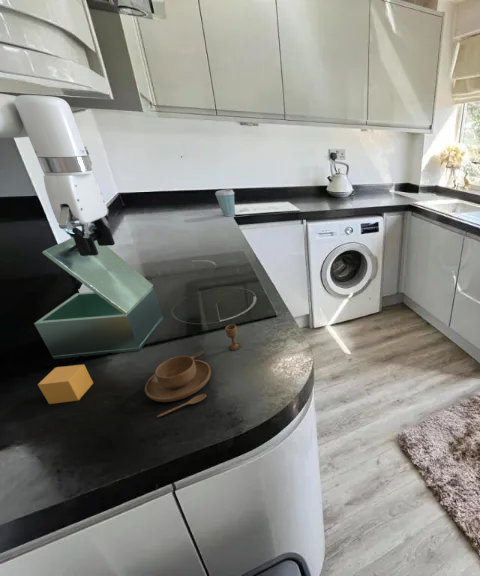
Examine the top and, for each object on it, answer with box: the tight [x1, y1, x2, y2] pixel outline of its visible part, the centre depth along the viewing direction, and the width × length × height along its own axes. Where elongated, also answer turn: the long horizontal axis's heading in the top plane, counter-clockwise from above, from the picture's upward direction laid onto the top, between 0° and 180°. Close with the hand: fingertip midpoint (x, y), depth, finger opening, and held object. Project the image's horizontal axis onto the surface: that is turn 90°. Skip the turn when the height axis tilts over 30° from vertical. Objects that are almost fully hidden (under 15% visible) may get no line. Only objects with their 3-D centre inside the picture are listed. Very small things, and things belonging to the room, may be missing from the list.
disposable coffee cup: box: [214, 188, 236, 217], centre depth 197 cm, size 11×11×15 cm
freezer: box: [33, 287, 164, 360], centre depth 81 cm, size 18×15×10 cm
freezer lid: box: [41, 230, 154, 315], centre depth 76 cm, size 19×15×5 cm
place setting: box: [144, 323, 242, 418], centre depth 69 cm, size 18×20×6 cm
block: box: [37, 364, 94, 405], centre depth 64 cm, size 5×5×5 cm
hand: (98, 249), depth 73 cm, fingers closed on freezer lid, 6 cm apart
